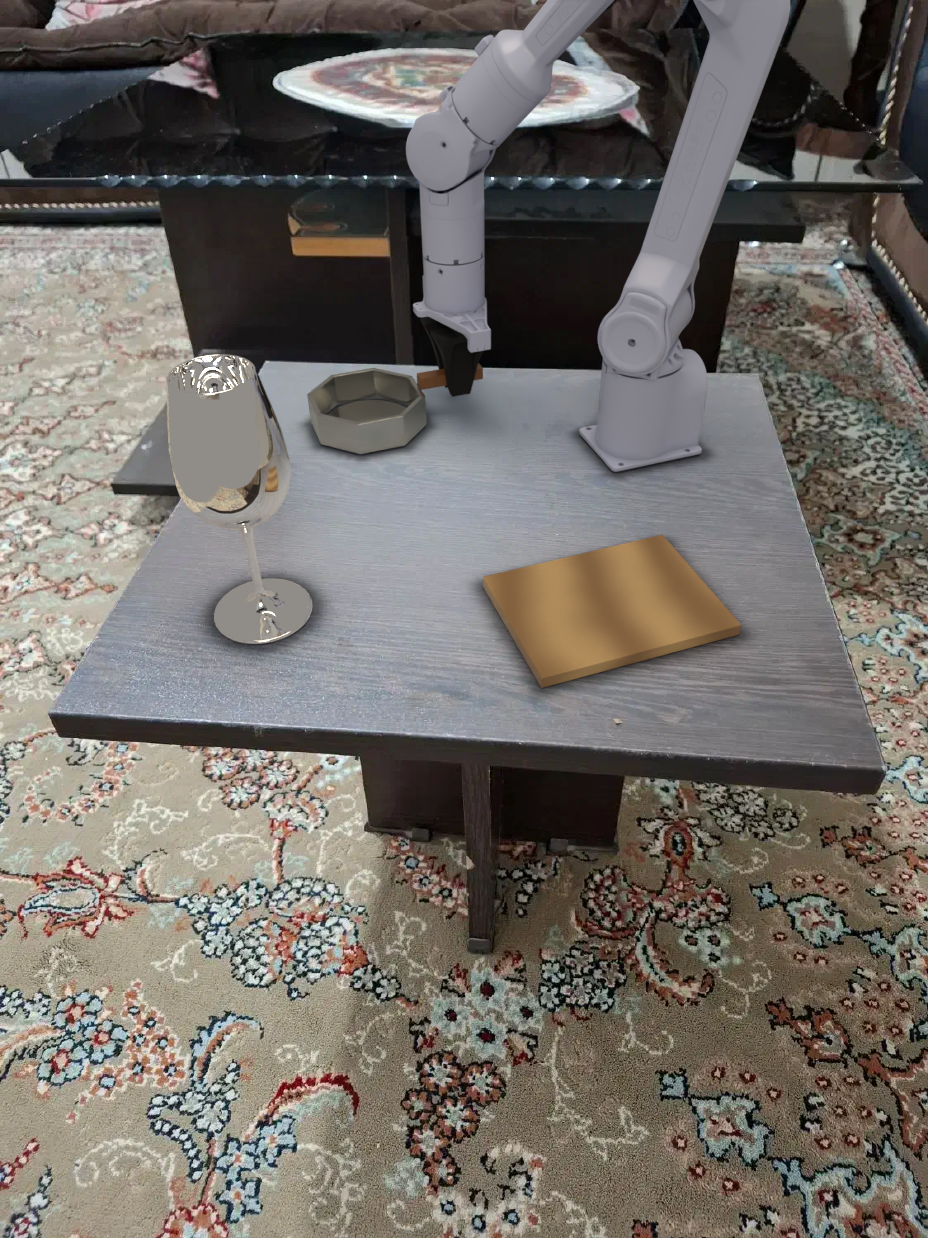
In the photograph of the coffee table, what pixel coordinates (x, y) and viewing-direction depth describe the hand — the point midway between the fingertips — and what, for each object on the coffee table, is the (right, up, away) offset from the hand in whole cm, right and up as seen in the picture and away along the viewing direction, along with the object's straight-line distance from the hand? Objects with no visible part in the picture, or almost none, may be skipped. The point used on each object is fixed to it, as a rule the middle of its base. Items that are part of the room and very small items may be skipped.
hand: (456, 389), depth 92 cm
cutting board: (+12, -23, -22) cm, 34 cm away
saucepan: (-6, -3, 0) cm, 7 cm away
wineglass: (-15, -23, -22) cm, 35 cm away
